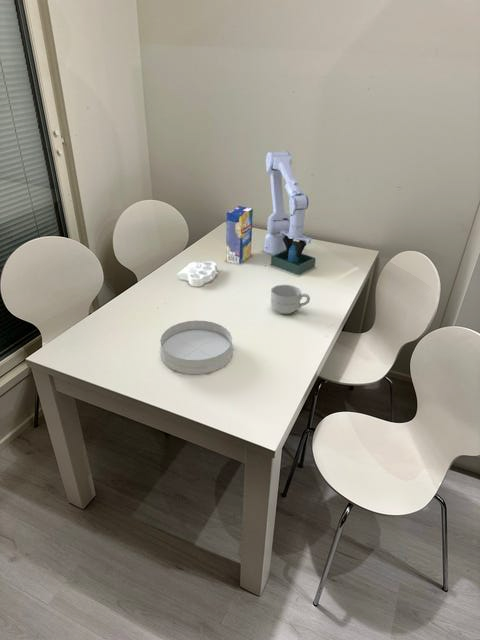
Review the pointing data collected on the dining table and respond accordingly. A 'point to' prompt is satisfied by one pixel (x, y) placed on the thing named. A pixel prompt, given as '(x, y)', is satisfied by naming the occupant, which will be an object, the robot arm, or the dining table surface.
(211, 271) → the white scalloped tray
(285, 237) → the robot arm
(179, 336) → the dish
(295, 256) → the bottle
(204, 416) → the dining table surface
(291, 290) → the teacup
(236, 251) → the beverage box
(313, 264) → the bin
